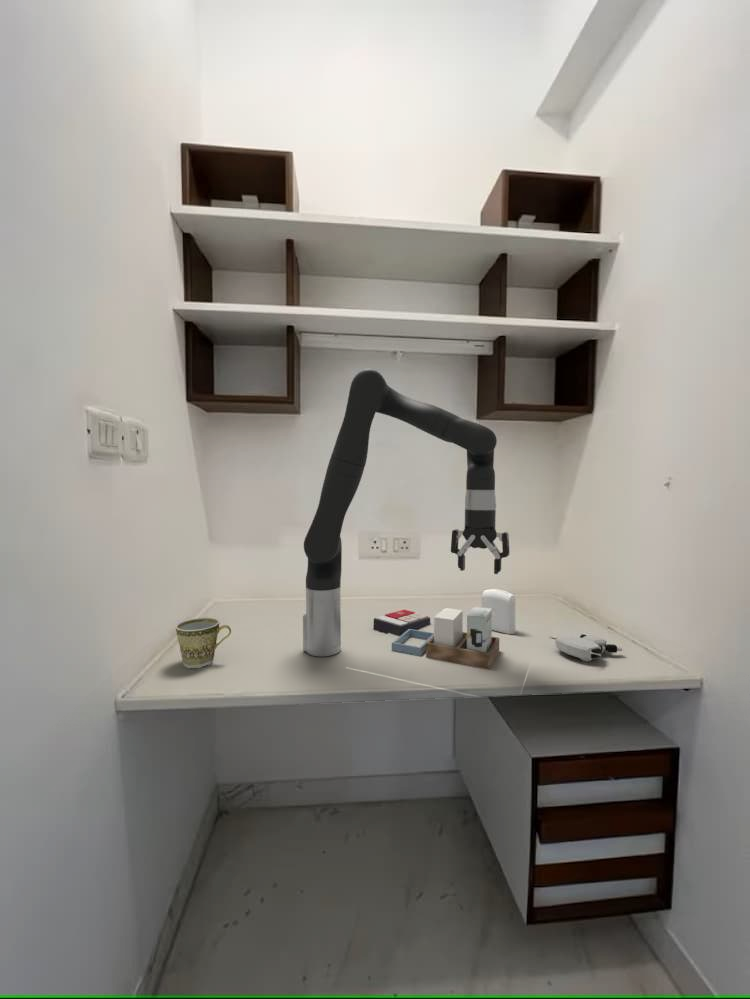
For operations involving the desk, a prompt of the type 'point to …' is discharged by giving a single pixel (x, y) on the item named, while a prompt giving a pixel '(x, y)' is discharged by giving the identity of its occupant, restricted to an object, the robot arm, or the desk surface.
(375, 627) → the calculator
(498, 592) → the photo printer
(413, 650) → the tray
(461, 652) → the brown divided wooden organizer
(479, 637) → the ink box
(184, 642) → the ceramic cup
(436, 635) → the white box
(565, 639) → the robot toy
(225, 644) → the desk surface
